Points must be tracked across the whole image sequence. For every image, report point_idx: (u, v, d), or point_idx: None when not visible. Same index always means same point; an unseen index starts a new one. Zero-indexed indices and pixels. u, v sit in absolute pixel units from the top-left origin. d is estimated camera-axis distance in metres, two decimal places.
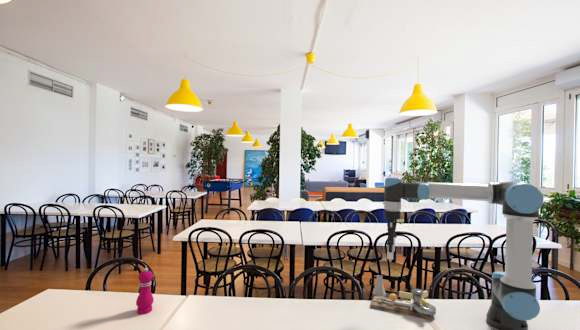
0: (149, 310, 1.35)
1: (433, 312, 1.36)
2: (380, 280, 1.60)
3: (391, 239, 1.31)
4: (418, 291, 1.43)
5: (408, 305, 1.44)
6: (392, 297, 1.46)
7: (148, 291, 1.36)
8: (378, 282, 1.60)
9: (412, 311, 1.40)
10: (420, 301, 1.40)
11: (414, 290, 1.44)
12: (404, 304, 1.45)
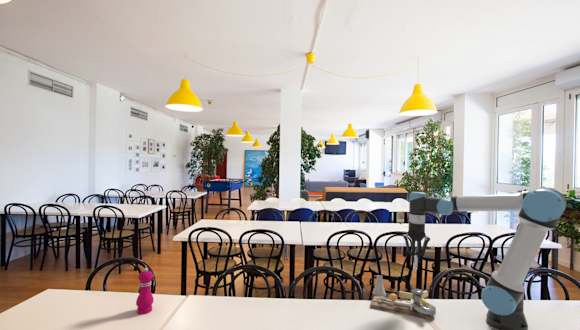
0: (149, 310, 1.35)
1: (433, 312, 1.36)
2: (380, 280, 1.60)
3: None
4: (418, 291, 1.43)
5: (408, 305, 1.44)
6: (392, 297, 1.46)
7: (148, 291, 1.36)
8: (378, 282, 1.60)
9: (412, 311, 1.40)
10: (420, 301, 1.40)
11: (414, 290, 1.44)
12: (404, 304, 1.45)
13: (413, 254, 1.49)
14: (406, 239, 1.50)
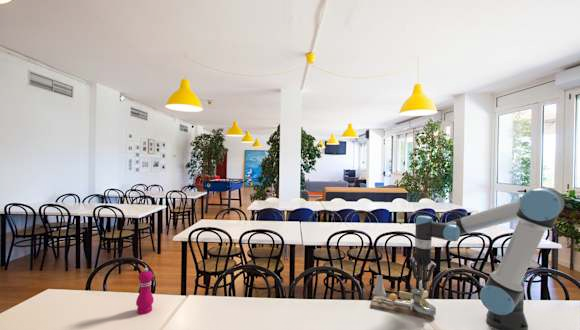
0: (149, 310, 1.35)
1: (433, 312, 1.36)
2: (380, 280, 1.60)
3: (430, 277, 1.46)
4: (418, 291, 1.43)
5: (408, 305, 1.44)
6: (392, 297, 1.46)
7: (148, 291, 1.36)
8: (378, 282, 1.60)
9: (412, 311, 1.40)
10: (420, 301, 1.40)
11: (414, 290, 1.44)
12: (404, 304, 1.45)
13: (418, 278, 1.48)
14: (411, 262, 1.51)
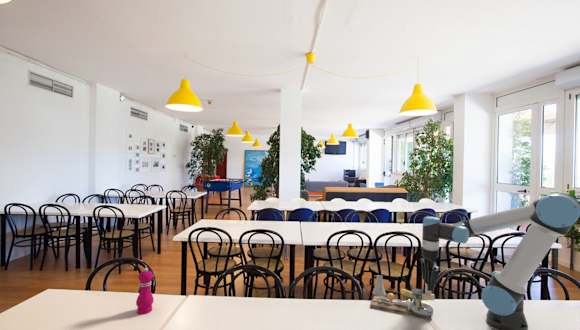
0: (149, 310, 1.35)
1: (425, 313, 1.35)
2: (380, 280, 1.60)
3: (434, 281, 1.41)
4: (417, 291, 1.43)
5: (406, 305, 1.45)
6: (390, 297, 1.47)
7: (148, 291, 1.36)
8: (378, 282, 1.60)
9: None
10: None
11: (414, 289, 1.44)
12: (402, 304, 1.45)
13: (425, 280, 1.46)
14: (421, 262, 1.50)
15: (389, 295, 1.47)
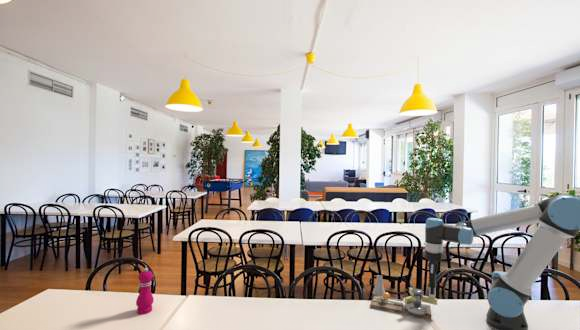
0: (149, 310, 1.35)
1: (412, 311, 1.37)
2: (380, 280, 1.60)
3: (432, 284, 1.37)
4: (417, 291, 1.43)
5: (401, 304, 1.46)
6: (385, 296, 1.48)
7: (148, 291, 1.36)
8: (378, 282, 1.60)
9: None
10: None
11: (415, 289, 1.45)
12: (397, 303, 1.46)
13: None
14: None
15: (384, 294, 1.48)
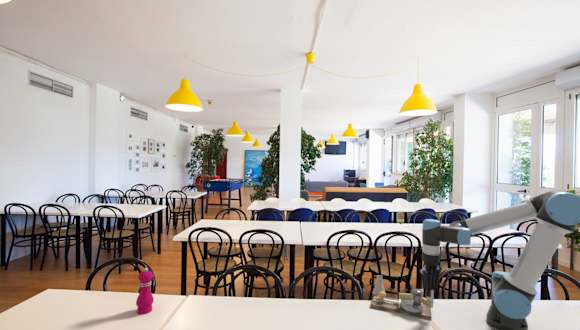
0: (149, 310, 1.35)
1: (402, 306, 1.41)
2: (380, 280, 1.60)
3: (425, 285, 1.36)
4: (416, 290, 1.43)
5: (397, 303, 1.46)
6: (381, 295, 1.48)
7: (148, 291, 1.36)
8: (378, 282, 1.60)
9: None
10: None
11: (417, 289, 1.45)
12: (393, 302, 1.47)
13: None
14: None
15: (380, 293, 1.49)
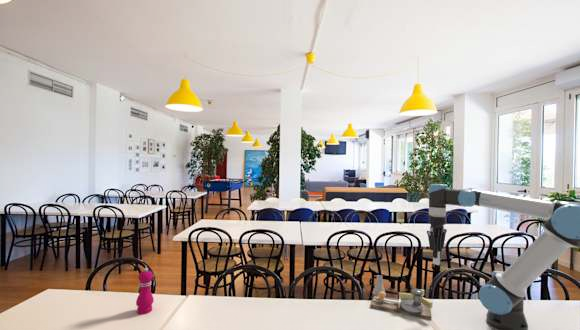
0: (149, 310, 1.35)
1: (401, 306, 1.41)
2: (380, 280, 1.60)
3: (432, 246, 1.42)
4: (416, 290, 1.43)
5: (396, 303, 1.46)
6: (381, 295, 1.48)
7: (148, 291, 1.36)
8: (378, 282, 1.60)
9: None
10: None
11: (418, 289, 1.45)
12: (392, 302, 1.47)
13: None
14: None
15: (380, 293, 1.49)
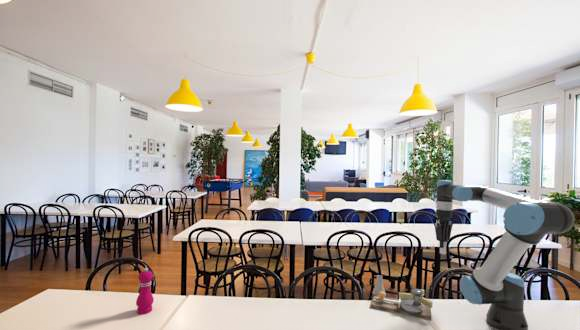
0: (149, 310, 1.35)
1: (401, 306, 1.41)
2: (380, 280, 1.60)
3: (439, 237, 1.54)
4: (416, 290, 1.43)
5: (396, 303, 1.46)
6: (381, 295, 1.48)
7: (148, 291, 1.36)
8: (378, 282, 1.60)
9: None
10: None
11: (418, 289, 1.45)
12: (392, 302, 1.47)
13: None
14: None
15: (380, 293, 1.49)
